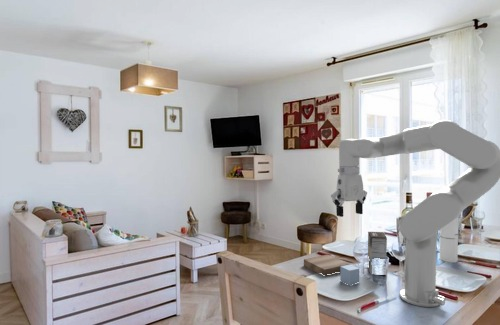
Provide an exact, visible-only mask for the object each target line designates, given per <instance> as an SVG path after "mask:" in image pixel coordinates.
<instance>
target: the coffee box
mask: <svg viewBox="0 0 500 325" xmlns="http://www.w3.org/2000/svg"><path fill="white" fill-rule="evenodd" d="M367 233H368V234H367V257H368V256H369V259H370V261H369V269H368V271H369V275H370V276H373V275H372V265H371V262H372V259H374V258H380V259H386V260H387V245H388V244H387V243H388V239H387V236H386V235H385V232H383V231H367Z"/></svg>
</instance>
